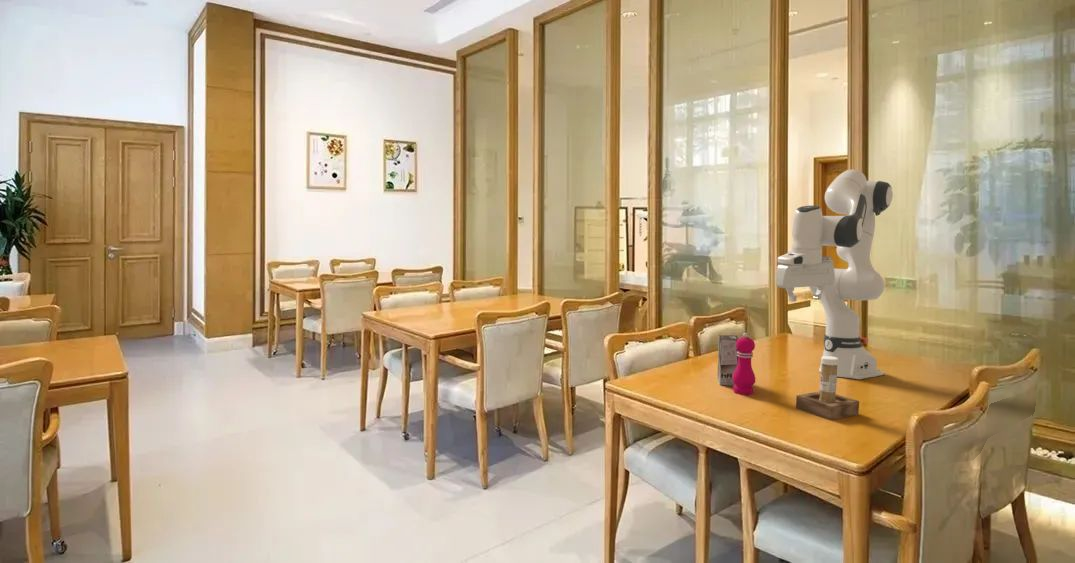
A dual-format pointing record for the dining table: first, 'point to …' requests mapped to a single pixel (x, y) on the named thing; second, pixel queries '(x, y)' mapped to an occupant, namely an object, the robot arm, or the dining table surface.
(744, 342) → the pepper mill
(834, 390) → the sprinkles bottle
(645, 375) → the dining table surface
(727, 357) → the coffee box
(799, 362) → the dining table surface
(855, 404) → the walnut pedestal
